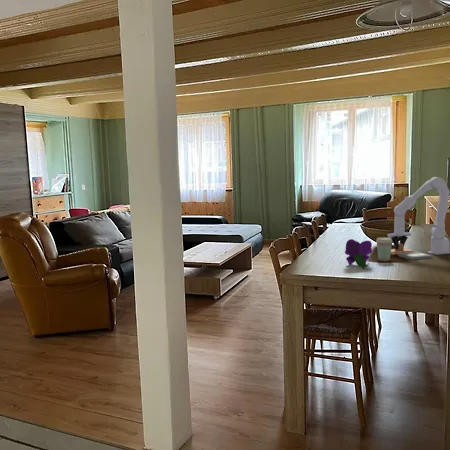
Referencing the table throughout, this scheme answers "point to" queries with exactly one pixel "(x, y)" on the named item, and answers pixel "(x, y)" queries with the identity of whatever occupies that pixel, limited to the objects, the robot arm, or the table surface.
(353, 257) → the flower
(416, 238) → the table surface
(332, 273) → the table surface
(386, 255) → the coffee cup
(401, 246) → the pink panel with block
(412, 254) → the ticket board
